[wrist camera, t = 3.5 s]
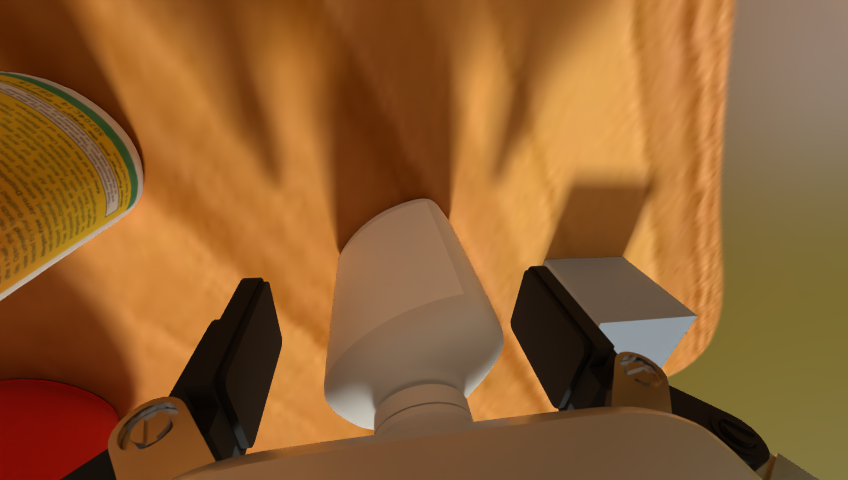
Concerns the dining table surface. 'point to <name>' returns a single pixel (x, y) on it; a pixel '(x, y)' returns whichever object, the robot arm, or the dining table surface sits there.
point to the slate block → (625, 304)
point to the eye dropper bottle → (408, 324)
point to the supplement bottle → (57, 175)
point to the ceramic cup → (50, 428)
